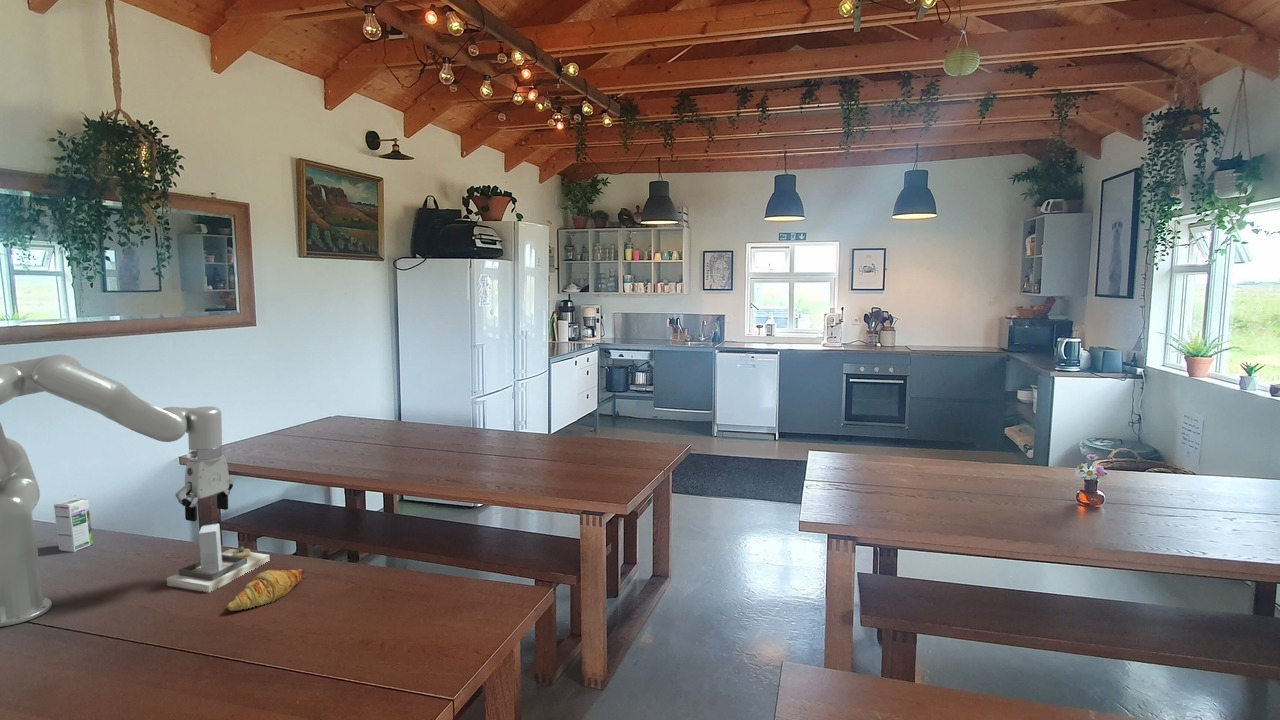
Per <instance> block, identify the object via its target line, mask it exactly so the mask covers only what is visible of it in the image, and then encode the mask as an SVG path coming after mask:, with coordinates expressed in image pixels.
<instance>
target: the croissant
mask: <svg viewBox="0 0 1280 720" xmlns="http://www.w3.org/2000/svg"><path fill="white" fill-rule="evenodd" d="M304 574H305V570H304V569H302V568H299V569H289V570H286V569H285V570H284V569H282V570H280V569H267V570H264V571H261V572H259V573H257V574H256V575H255V576H254V577H253V579H252V580H251V581H250V582H248V583H247V584H246V585H245V587H244V589H243V590H242V591H240V592H239V593H237V594H236V595H235V597H234V598H233V600H232V601H230V602H229V603H228V604H227V609H228V610H229V611H232V612H235V611H242V609H244V610H249V609H252V607H253V608H256V607H255V606H257V607H261V606H264V604H265V605H267V603H268V604H271V603H274V602H275V601H276V600H279V599H281V598H283V597H284V596H286V595H288V594H289V592H290V591H291V590H292V589H293V588H295V586H297V584H299V583H300V582H301V580H302V579H303V576H304ZM280 597H281V598H280ZM278 598H279V599H278ZM270 602H271V603H270ZM260 605H261V606H260ZM248 608H249V609H248Z"/></svg>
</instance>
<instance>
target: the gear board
mask: <svg viewBox="0 0 1280 720" xmlns="http://www.w3.org/2000/svg"><path fill="white" fill-rule="evenodd" d="M221 553H222V566H221V569H220V571H218V572H216V573H213V574H209V573H203V572H201V559H199V560H198V561H195V562H193V563H191V564H189V565H186V566H184V567H182V568H180V569H178V573H175V574H173V575H171V576H168V577H167V578H166V585H167V586H169V587H172V588H174V587H175V588H179V589H185V590H192V591H198V592H202V591H203V593H212V592H214V591H216V590H217V588H218V589H220V588H221V587H223V586H225V585H227V584H229V583H231V582H233V581H235V580H237V579H239V578H241V577H242V575H243V576H245V575H246V574H245V573H247V572H248V573H250V572H252V571H254V570H256V569H259V568H260V567H262V566H264V565H266V564H267V563H266V562H268V561H271V560H270V559H271V558H270V554H265V553H259V552H253V551H251V549H250V548H244V546H242V545H241V546H239V547H238V549H232V548H230V549H227V550H225V551H223V552H221ZM265 563H266V564H265ZM268 563H269V562H268ZM263 564H264V565H263ZM261 565H262V566H261ZM259 566H260V567H259ZM255 568H256V569H255ZM251 570H252V571H251ZM249 571H250V572H249ZM248 573H247V574H248ZM244 574H245V575H244ZM240 576H241V577H240ZM238 577H239V578H238ZM236 578H237V579H236ZM234 579H235V580H234ZM232 580H233V581H232ZM211 591H212V592H211Z"/></svg>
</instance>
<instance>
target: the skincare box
mask: <svg viewBox="0 0 1280 720" xmlns="http://www.w3.org/2000/svg"><path fill="white" fill-rule="evenodd" d="M221 542H222V541H221V527H220V523H212V524H204V525H202V526H201V527H200V529H199V532H198V543H199V546H198V547H199V556H200V557H199V558H200V559H199V560H201V572H203V573H209V574H213V573H216V572H218V571H220V569H221V566H222V553H223V552H222V543H221Z"/></svg>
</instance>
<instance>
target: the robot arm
mask: <svg viewBox="0 0 1280 720" xmlns="http://www.w3.org/2000/svg"><path fill="white" fill-rule="evenodd" d="M43 392H46V393H48V394H51V395H53V396H55V397H58V398H61V399H63V400H65V401H68V402H70V403H73V404H75V405H77V406H81V407H83V408H86V409H88V410H90V411H93V412H96V413H97V414H100V415H101V416H103V417H105V418H106V419H108V420H110V421H112V422H115V423H117V424H118V425H121V426H122V427H125V428H126V429H128V430H131V431H133V432H136V433H138V434H140V435H142V436H145V437H148V438H150V439H152V440H156V441H159V442H164V443H171V442H173V443H174V442H175V441H178V440H179V439H181V438H183V436H184V435H185V434H186V433H187V435H188V453H186V454H185V456H186V458H187V459H188V460H187V461H186V467H185V475H184V486H182V487H181V488H180V489H179V490H178V491H177V492H176V493H175V497H176V499H177V500H178V501H177V502H178V503H179V504H181V505H182V507H184V512H185V513H184V514H185V515H184V516H185V517H184V518H185V519H184V520H185V521H189V522H197V520H198V507H197V506H196V503H197V502H198V501H199V499H205V498H208V497H209V498H210V497H212V496H215V495H216V508H217V509H218V510H224V511H226V510H229V496H230V494H231V490H232V489H233V486H234V483H235V480H236V477H235V476H233V475H231V474H230V473H229V466H228V462H227V459H226V456H225V455H224V454H223V436H222V435H223V430H222V429H223V428H222V427H223V426H222V425H223V424H222V412H221V410H220V408H219V407H217V406H198V407H180V406H179V407H178V406H168V407H164V408H161V407H159V406H156V405H154V404H151V403H149V402H147V401H145V400H143V399H141V398H140V397H138V396H137V395H135V394H134V393H133V392H132V391H131V390H130V389H129V388H128V387H127V386H126V385H124V384H123V383H121V382H119V381H116V380H114V379H112V378H109V377H107V376H105V375H102V374H100V373H98V372H96V371H92V370H91V369H88V368H86V367H84V366H82V364H81V363H80V362H79V360H77V359H76V358H75V357H72V356H70V355H66V354H54V355H49V356H44V357H40V358H39V357H38V358H31V359H26V360H21V361H15V362H13V361H12V362H8V363H3V364H0V406H1V405H3V404H6V403H7V402H8V401H10V400H12V399H14V398H17V397H23V396H28V395H32V394H34V395H35V394H37V393H43ZM37 481H38V480H37V479H36V476H35V473H34V471H33V468H32V465H31V463H30V459H29V457H28V454H27V452H26V450H25V448H24V447H23V446H22V444H20V443H19V442H18V441H16V440H14V439H12V438H9V437H6V435H5V432H4V429H3V426H2V423H1V422H0V627H7V626H12V625H18V624H21V623H24V622H28V621H30V620H33V619H35V618H38V617H41V616H42V615H44V614H45V613H47V612H49V610H51V608H52V606H53V603H52V599H50V598H48V597H43V592H42V591H43V590H42V589H43V588H42V581H41V571H40V561H39V551H38V543H37V534H36V529H35V524H34V523H35V522H34V518H33V517H34V516H33V511H34V509H35V508H36V506H37V505H38V503H39V501H40V497H41V491H40V487H39V485H38V482H37Z"/></svg>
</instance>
